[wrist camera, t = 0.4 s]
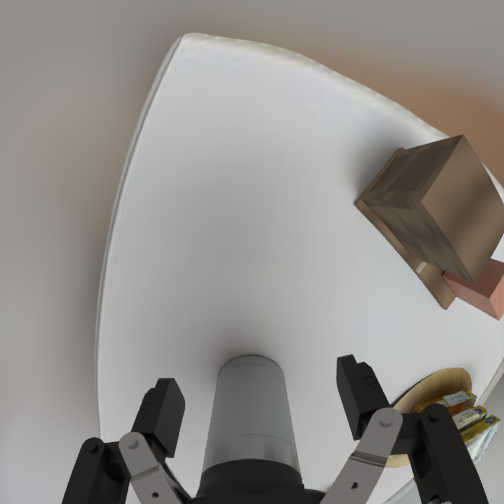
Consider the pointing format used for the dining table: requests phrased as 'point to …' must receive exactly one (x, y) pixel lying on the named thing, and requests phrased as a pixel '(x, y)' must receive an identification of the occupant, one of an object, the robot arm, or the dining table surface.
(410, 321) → the dining table surface
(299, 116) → the dining table surface
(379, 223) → the walnut socket base
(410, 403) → the stacked packages on board
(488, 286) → the terracotta plug
